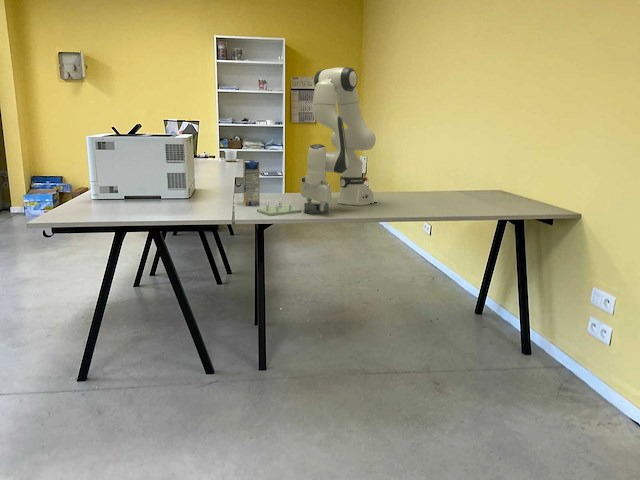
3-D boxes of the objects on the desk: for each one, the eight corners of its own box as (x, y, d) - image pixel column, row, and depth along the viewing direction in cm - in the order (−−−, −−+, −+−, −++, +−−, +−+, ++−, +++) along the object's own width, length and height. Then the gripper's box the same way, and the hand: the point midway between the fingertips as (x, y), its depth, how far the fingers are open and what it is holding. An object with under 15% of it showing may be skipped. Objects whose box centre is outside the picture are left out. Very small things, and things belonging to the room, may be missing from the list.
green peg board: (287, 208, 238) (287, 198, 237) (300, 212, 229) (300, 201, 228) (256, 211, 228) (256, 200, 227) (269, 216, 219) (269, 204, 218)
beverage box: (245, 206, 241) (245, 162, 236) (243, 202, 252) (243, 160, 246) (259, 206, 243) (259, 162, 238) (256, 202, 253) (256, 160, 248)
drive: (321, 211, 233) (321, 201, 232) (328, 213, 229) (328, 202, 228) (304, 213, 228) (304, 202, 226) (311, 215, 223) (311, 204, 222)
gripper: (335, 182, 218) (334, 212, 221) (309, 177, 234) (309, 205, 237) (324, 182, 214) (323, 213, 218) (298, 178, 230) (298, 206, 234)
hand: (315, 209), depth 228 cm, fingers open, 7 cm apart
